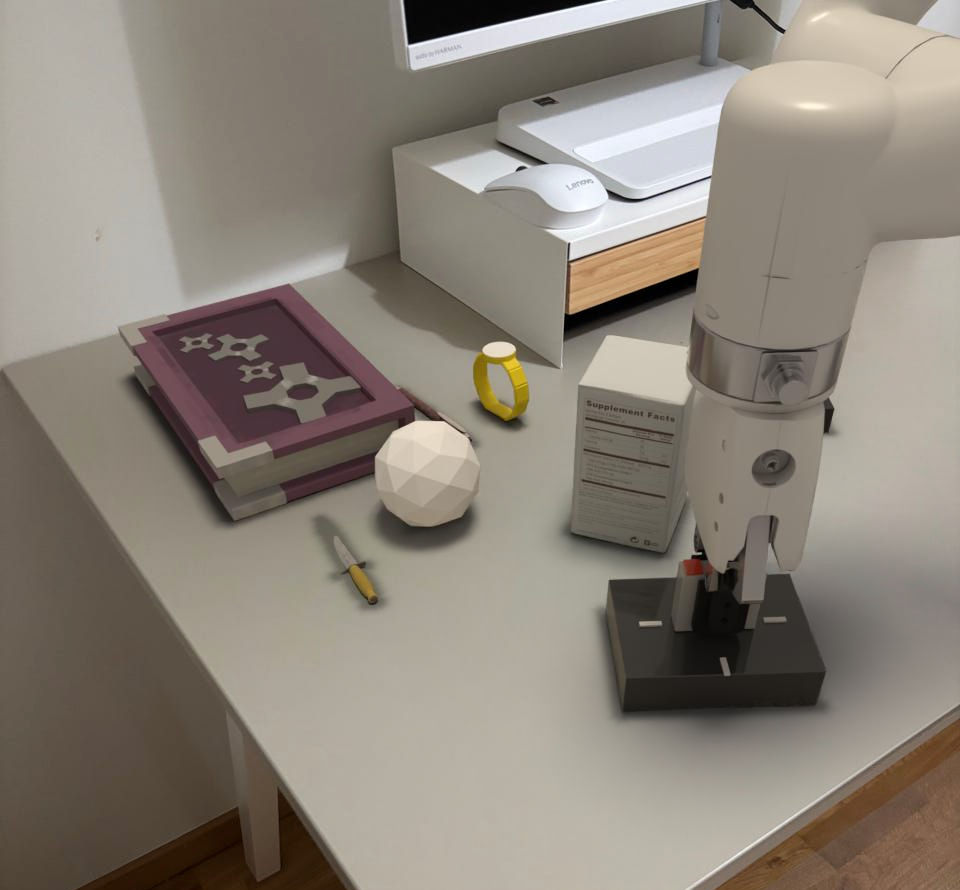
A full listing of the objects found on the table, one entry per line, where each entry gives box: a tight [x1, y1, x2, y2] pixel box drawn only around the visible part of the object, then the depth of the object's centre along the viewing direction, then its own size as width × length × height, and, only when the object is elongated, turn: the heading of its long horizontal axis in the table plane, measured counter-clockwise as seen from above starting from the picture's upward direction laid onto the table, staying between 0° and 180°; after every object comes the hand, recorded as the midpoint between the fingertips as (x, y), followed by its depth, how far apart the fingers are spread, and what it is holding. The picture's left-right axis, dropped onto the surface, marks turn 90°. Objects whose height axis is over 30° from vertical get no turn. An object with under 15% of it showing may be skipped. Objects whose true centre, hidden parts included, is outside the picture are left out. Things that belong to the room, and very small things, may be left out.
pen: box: [395, 386, 473, 443], centre depth 87 cm, size 11×1×1 cm, turn 38°
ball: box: [374, 420, 481, 528], centre depth 75 cm, size 8×8×8 cm
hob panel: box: [605, 573, 827, 712], centre depth 65 cm, size 12×9×3 cm
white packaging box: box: [570, 334, 696, 554], centre depth 72 cm, size 7×7×13 cm
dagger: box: [333, 535, 379, 604], centre depth 74 cm, size 11×1×2 cm
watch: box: [472, 341, 530, 422], centre depth 85 cm, size 6×3×6 cm, turn 38°
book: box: [117, 283, 416, 522], centre depth 86 cm, size 25×16×5 cm, turn 30°
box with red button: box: [671, 558, 768, 631], centre depth 62 cm, size 5×2×5 cm, turn 92°
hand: (713, 616), depth 63 cm, fingers closed
